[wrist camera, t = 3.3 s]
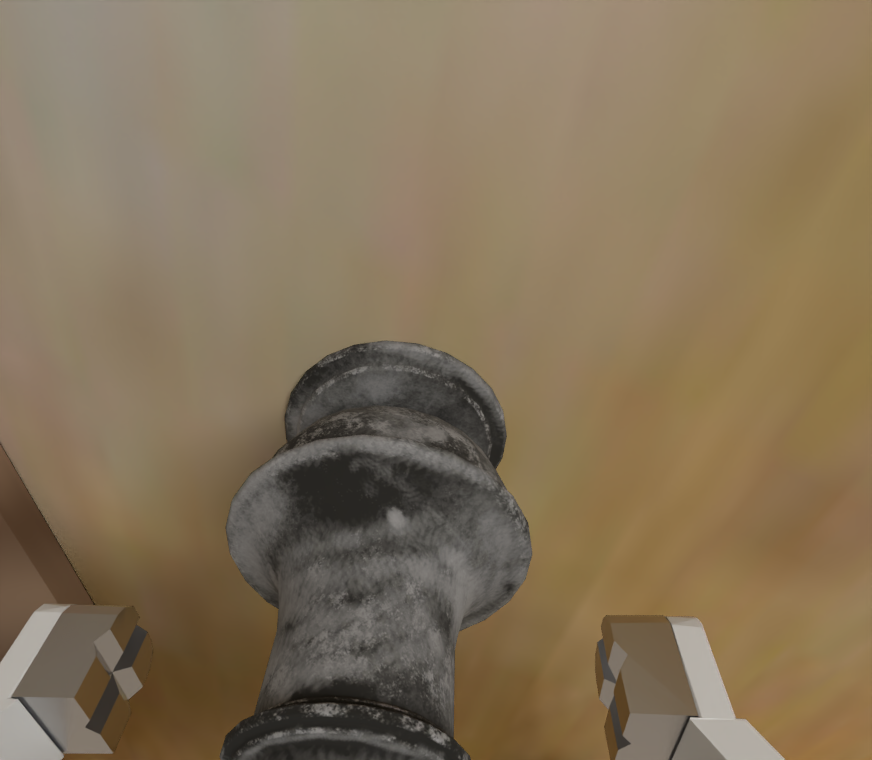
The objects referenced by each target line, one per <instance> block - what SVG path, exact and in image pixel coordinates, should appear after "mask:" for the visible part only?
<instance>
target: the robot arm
mask: <svg viewBox="0 0 872 760" xmlns="http://www.w3.org/2000/svg"><path fill="white" fill-rule="evenodd" d="M139 618H140V616H139V615H138V613H137V611H136V610H135V608H134V606H111V605H77V604H43V605H42V606H41V607H39V608H38V609H37V610H36V611H34V612H33V614H32V615H31V617H30V618H29V620H28V621H27V623H26V624H25V626H24V627H23V629H22V630H21V632H20V633H19V635H18V636H17V638H16V639H15V641H14V642H13V644H12V646H11V647H10V649H9V650H8V652H7V653H6V655H5V656H4V658H3V659H2V661H1V662H0V760H62V759H63V757H64V755H63V753H80V754H114V751H115V749H116V747H117V745H118V742H119V740H120V738H121V736H122V733H123V731H124V729H125V726H126V724H127V722H128V720H129V717H130V715H131V709H130V704H129V700H128V699H130V698H131V697H132V696H133V695H134V694H135V693H136V692H137V691H139V690H140V689H141V688H142V687H143V685H144V683H145V680H146V678H147V676H148V673H149V671H150V667H151V661H152V655H153V647H152V640H151V638H150V636H149V634H148V632H147V631H145V630H144V629H142V628H140V627H139V626H137V625H136V624H137V622H138V620H139ZM601 630H602V636H603V639H601V640H600V641H599V642H597V647H596V653H595V673H596V682H597V689H598V694H599V699H600V700H601V702H602V703H603V704H604V705H605V706H606V707H607V709H608V714H607V718H606V721H605V725H604V728H605V734H606V739H607V744H608V750H609V755H610V760H785V759H784V758H783V757H782V756H781V755H780V754H779V753H778V752H777V751H776V750H775V749H774V748H773V747H772V746H771V745H770V744H769V743H768V742H767V740H766V739H765V738H764V737H763V736H762V735H761V734H760V733H759V732H758V731H757V730H756V729H755V728H754V727H753V726H752V725H751V724H750V723H749V722H748V721H747V720H746V719H739V718H736V717H735V715H734V712H733V709H732V706H731V703H730V701H729V698H728V695H727V692H726V689H725V687H724V684H723V681H722V678H721V675H720V673H719V670H718V667H717V664H716V661H715V659H714V656H713V653H712V650H711V648H710V645H709V642H708V639H707V636H706V634H705V631H704V628H703V625H702V623H701V622H700V621H699V620H698V618H696V617H694V616H663V615H606V616H605V617H604V618H603V620H602V624H601Z"/></svg>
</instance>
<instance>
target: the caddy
mask: <svg viewBox="0 0 872 760" xmlns="http://www.w3.org/2000/svg"><path fill="white" fill-rule="evenodd" d="M43 604H77V605H94V604H93V602H92V601H91V599H90V597H89V595H88V594H87V592H86V590H85V589H84V587H83V585H82V583H81V582H80V580H79V578H78V577H77V575H76V573H75V571H74V570H73V568H72V566H71V565H70V563H69V561H68V559H67V558H66V556H65V554H64V553H63V551H62V549H61V547H60V546H59V544H58V542H57V541H56V539H55V537H54V535H53V534H52V532H51V530H50V529H49V527H48V525H47V523H46V522H45V520H44V518H43V517H42V515H41V513H40V511H39V510H38V508H37V506H36V505H35V503H34V501H33V499H32V498H31V496H30V494H29V493H28V491H27V489H26V487H25V486H24V484H23V482H22V481H21V479H20V477H19V475H18V474H17V472H16V470H15V469H14V467H13V465H12V464H11V462H10V460H9V458H8V457H7V455H6V453H5V452H4V450H3V448H2V446H1V445H0V662H1V661H2V659H3V658H4V656H5V655H6V653H7V652H8V650H9V649H10V647H11V646H12V644H13V642H14V641H15V639H16V638H17V636H18V635H19V633H20V632H21V630H22V629H23V627H24V626H25V624H26V623H27V621H28V620H29V618H30V617H31V615H32V614H33V612H34V611H36V610H37V609H38V608H39V607H41V606H42V605H43Z"/></svg>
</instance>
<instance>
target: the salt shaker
mask: <svg viewBox="0 0 872 760" xmlns="http://www.w3.org/2000/svg"><path fill="white" fill-rule="evenodd" d="M285 427H286V439H287V441H288V443H286V444H285V445H284V446H283V447H281V448H280V449H279V450H278V451H277V452H276V454H275V455H274V456H273V458H272V459H271V460H269V461H268V462H266V463H265V464H263V465H262V466H261V467H259V468H258V469H256V470H255V471H253V472H252V473H251V474H250V475H249V477H248V478H247V479H246V481H245V482H244V483H243V485H242V486H241V488H240V489H239V490H238V492H237V493H236V495H235V496H234V497H233V500H232V502H231V507H230V511H229V515H228V519H227V524H226V533H227V539H228V545H229V550H230V555H231V556H232V558H233V560H234V562H235V563H236V565H237V567H238V569H239V570H240V572H241V574H242V576H243V577H244V579H245V581H246V582H247V583H248V584H249V585H250V586H251V587H252V588H253V589H254V590H255V591H256V592H258V593H259V594H260V595H261V596H262V597H263V598H264V599H265V600H266V601H267V602H268V603H270V604H271V605H273V606H274V607H276V608H278V609H279V610H278V623H277V632H276V636H275V640H274V643H273V647H272V651H271V654H270V658H269V662H268V665H267V669H266V673H265V676H264V680H263V683H262V687H261V691H260V694H259V698H258V702H257V705H256V709H255V713H254V716H251V717H249V718H247V719H245V720H243V721H241V722H240V723H239V724H238V725H237V726H235V727H234V728H233V729H232V730H231V731H230V732H229V733H228V734H227V735H226V737H225V740H224V744H223V747H222V750H221V753H220V760H471V759H470V756H469V755H468V753H467V752H466V751H465V750H464V749H463V748H462V747H461V746H460V745H459V744H458V743H457V742H456V741H455V740H454V670H455V646H456V641H457V637H458V633H459V631H461V630H463V629H465V628H468V627H470V626H472V625H474V624H477V623H479V622H481V621H483V620H485V619H487V618H488V617H489V616H491V615H492V614H493V613H495V612H496V611H497V610H499V609H500V608H501V607H503V606H504V605H505V604H507V603H508V602H509V601H510V600H511V598H512V597H513V595H514V594H515V593H516V591H517V590H518V589H519V587H520V586H521V584H522V583H523V582H524V580H525V579H526V575H527V572H528V568H529V564H530V561H531V557H532V548H531V541H530V533H529V526H528V522H527V520H526V518H525V517H524V515H523V513H522V511H521V509H520V508H519V506H518V504H517V502H516V500H515V499H514V497H513V495H511V494H510V493H509V492H508V491H507V489H506V487H505V486H504V484H503V482H502V480H501V478H500V477H499V475H498V473H497V471H496V468H497V466H498V464H499V463H500V461H501V459H502V457H503V452H504V447H505V442H506V437H507V435H506V428H505V421H504V414H503V410H502V408H501V406H500V404H499V402H498V400H497V398H496V396H495V394H494V392H493V390H492V388H491V387H490V386H489V385H488V384H487V383H486V382H485V381H484V380H483V379H482V378H481V377H480V376H479V375H478V374H477V373H476V372H475V371H474V370H473V369H472V368H471V367H469V366H467V365H466V364H464V363H462V362H461V361H459V360H457V359H456V358H454V357H452V356H451V355H449V354H447V353H445V352H442V351H438V350H435V349H432V348H429V347H426V346H423V345H420V344H416V343H405V342H394V341H380V342H372V343H365V344H357V345H353V346H350V347H348V348H345V349H343V350H340V351H338V352H335V353H333V354H330V355H327V356H326V357H325V358H323V359H322V360H321V361H319V362H318V363H317V364H315V365H314V366H313V367H312V368H310V369H309V370H308V371H306V372H305V374H304V375H303V377H302V378H301V379H300V381H299V382H298V384H297V385H296V387H295V388H294V389H293V391H292V393H291V396H290V399H289V403H288V407H287V410H286V414H285Z"/></svg>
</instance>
